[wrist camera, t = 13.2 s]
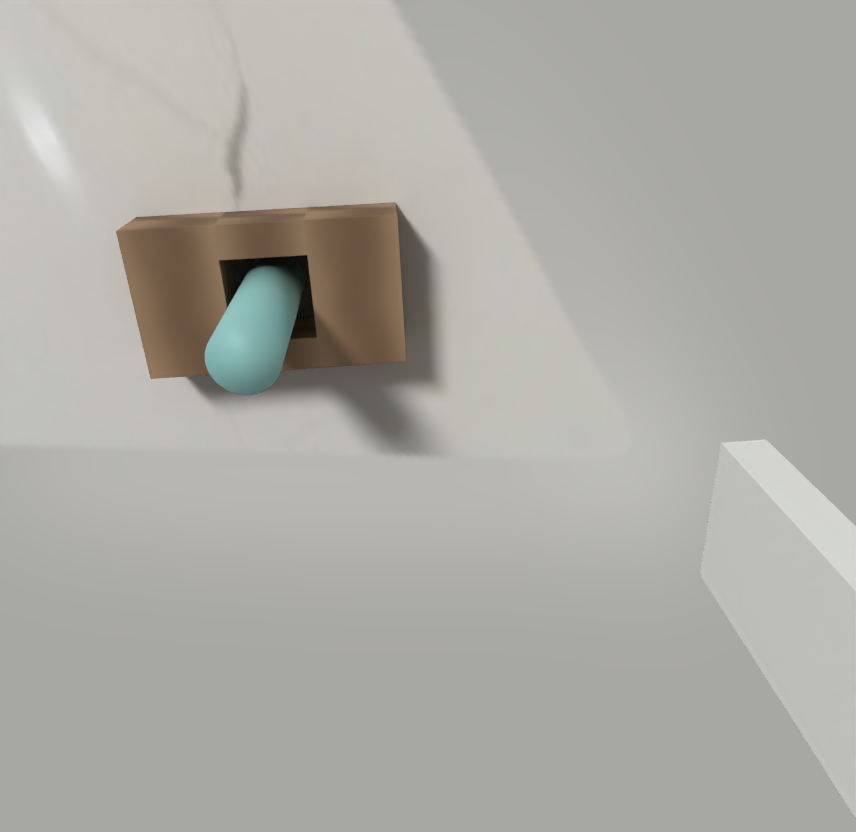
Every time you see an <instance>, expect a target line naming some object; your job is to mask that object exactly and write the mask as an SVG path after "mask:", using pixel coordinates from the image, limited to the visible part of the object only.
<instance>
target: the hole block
mask: <svg viewBox="0 0 856 832" xmlns="http://www.w3.org/2000/svg"><path fill="white" fill-rule="evenodd" d="M116 233H117V237H118V241H119V246H120V250H121V254H122V259H123V263H124V267H125V271H126V276H127V280H128V284H129V288H130V293H131V297H132V301H133V305H134V310H135V314H136V318H137V323H138V327H139V331H140V335H141V340H142V344H143V348H144V352H145V357H146V361H147V365H148V369H149V374H150V378H151V379H155V378H170V377H185V376H200V375H210V374H209V372H208V370H207V367H206V364H205V350H206V346H207V343H208V342H209V340H210V338H211V336H212V335H213V333H214V331H215V329H216V327H217V326H218V324H219V322H220V320H221V319H222V317H223V315H224V313H225V311H226V310H227V308H228V306H229V304H230V303H231V301H232V299H233V297H234V295H235V294H236V292H237V290H238V287H237V281H236V275H235V268H234V262H233V259H250V258H267V257H283V256H300V255H307V258H308V266H309V274H310V283H311V291H312V300H313V308H314V317H310V318H296V319H295V323H294V326H293V330H292V333H291V337H290V341H289V344H288V348H287V351H286V355H285V358H284V362H283V366H282V369H281V370H290V369H305V368H320V367H334V366H349V365H364V364H379V363H394V362H406V348H405V331H404V315H403V298H402V282H401V265H400V249H399V232H398V216H397V210H396V204H395V203H379V204H361V205H344V206H326V207H309V208H291V209H273V210H256V211H238V212H221V213H203V214H186V215H168V216H151V217H136V218H135V219H133V220H132V221H130V222H129V223H127V224H126V225H125V226H123V227H122V228H120V229H119V230H117V231H116Z"/></svg>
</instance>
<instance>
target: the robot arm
mask: <svg viewBox="0 0 856 832" xmlns="http://www.w3.org/2000/svg"><path fill="white" fill-rule="evenodd" d="M700 575H701V577H702V579H703V580H704V582H705V583H706V585H707V586H708V588H709V589H710V591H711V592H712V594H713V596H714V597H715V599H716V600H717V602H718V604H719V605H720V607H721V608H722V610H723V611H724V613H725V615H726V616H727V618H728V619H729V621H730V622H731V624H732V625H733V627H734V629H735V630H736V632H737V633H738V635H739V637H740V638H741V640H742V641H743V643H744V644H745V646H746V647H747V649H748V651H749V652H750V654H751V655H752V657H753V658H754V660H755V661H756V663H757V665H758V666H759V668H760V669H761V671H762V673H763V674H764V676H765V677H766V679H767V680H768V682H769V684H770V685H771V687H772V688H773V690H774V691H775V693H776V695H777V696H778V698H779V699H780V701H781V702H782V704H783V706H784V707H785V709H786V710H787V712H788V713H789V715H790V716H791V718H792V720H793V721H794V723H795V724H796V726H797V727H798V729H799V731H800V732H801V734H802V735H803V737H804V738H805V740H806V742H807V743H808V745H809V746H810V748H811V749H812V751H813V753H814V754H815V756H816V757H817V759H818V760H819V762H820V764H821V765H822V767H823V768H824V770H825V771H826V773H827V775H828V776H829V778H830V779H831V781H832V782H833V784H834V786H835V787H836V788H837V790H838V792H839V793H840V795H841V796H842V798H843V800H844V801H845V803H846V804H847V806H848V808H849V809H850V810H851V812H852V814H853V815H854V817H855V818H856V526H855V525H854V524H853V523H852V522H850V520H849V519H847V518H846V517H845V516H844V515H843V514H842V513H841V512H840V511H839V510H838V509H837V508H836V507H835V506H834V505H833V504H832V503H831V502H830V501H829V500H828V499H827V498H826V497H825V496H823V494H822V493H820V491H818V490H817V489H816V488H815V487H814V486H813V485H812V484H811V483H810V482H809V481H808V480H807V479H806V478H805V477H804V476H803V475H802V474H801V473H800V472H799V471H798V470H797V469H796V468H795V467H794V466H793V465H792V464H791V463H790V462H789V461H787V460H786V459H785V458H784V457H783V456H782V455H781V454H780V453H779V452H778V451H777V450H776V449H775V448H774V447H773V446H772V445H771V444H770V443H769V442H768V441H767V440H755V441H740V442H727V443H721V447H720V452H719V458H718V465H717V471H716V478H715V484H714V490H713V497H712V502H711V509H710V515H709V521H708V528H707V534H706V540H705V547H704V553H703V559H702V565H701V572H700Z"/></svg>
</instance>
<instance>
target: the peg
mask: <svg viewBox="0 0 856 832" xmlns="http://www.w3.org/2000/svg"><path fill="white" fill-rule="evenodd" d="M304 286H305V279H304V274H303V272H302V269H301V268H300V266H299V265H298V264H297V263H296V262H295V261H294V260H293V259H292V258H290V257H288V256H283V257H267V258H258V259H256V260H255V261H254V262H253V264H252V265H251V267H250V269H249V271H248V272H247V274H246V276H245V278H244V279H243V281H242V283H241V285H240V287H239V288H238V290H237V292H236V294H235V295H234V297H233V299H232V301H231V303H230V304H229V306H228V308H227V310H226V311H225V313H224V315H223V317H222V319H221V320H220V322H219V324H218V326H217V327H216V329H215V331H214V333H213V335H212V336H211V338H210V340H209V342H208V343H207V346H206V350H205V364H206V367H207V370H208V372H209V374H210V376H211V377H212V378H213V380H214V381H215V382H216V383H217V384H218V385H220V386H221V387H223V388H224V389H226V390H228V391H230V392H233V393H236V394H242V395H251V394H257V393H260V392H263V391H265V390H267V389H268V388H269V387H271V386H272V385H273V384H274V383H275V382H276V380H277V379H278V377H279V375H280V373H281V369H282V366H283V362H284V358H285V355H286V351H287V348H288V344H289V341H290V337H291V333H292V330H293V326H294V323H295V319H296V316H297V312H298V308H299V305H300V301H301V298H302V294H303V291H304Z"/></svg>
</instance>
